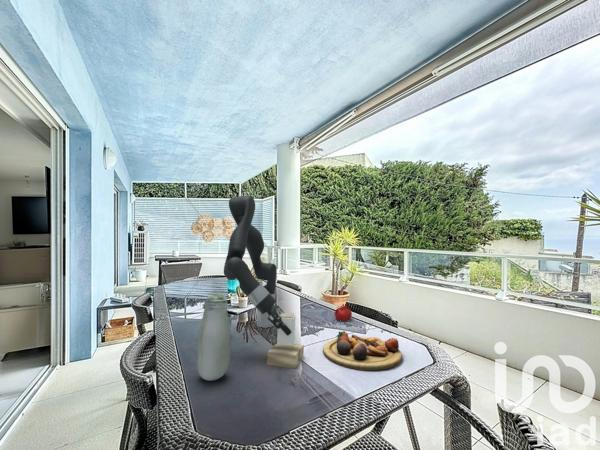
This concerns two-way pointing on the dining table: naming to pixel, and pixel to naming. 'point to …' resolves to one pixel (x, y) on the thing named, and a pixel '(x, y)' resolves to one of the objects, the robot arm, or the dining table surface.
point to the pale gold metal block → (285, 355)
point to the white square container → (290, 323)
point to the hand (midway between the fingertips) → (290, 331)
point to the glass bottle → (214, 338)
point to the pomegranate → (343, 313)
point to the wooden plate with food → (363, 352)
